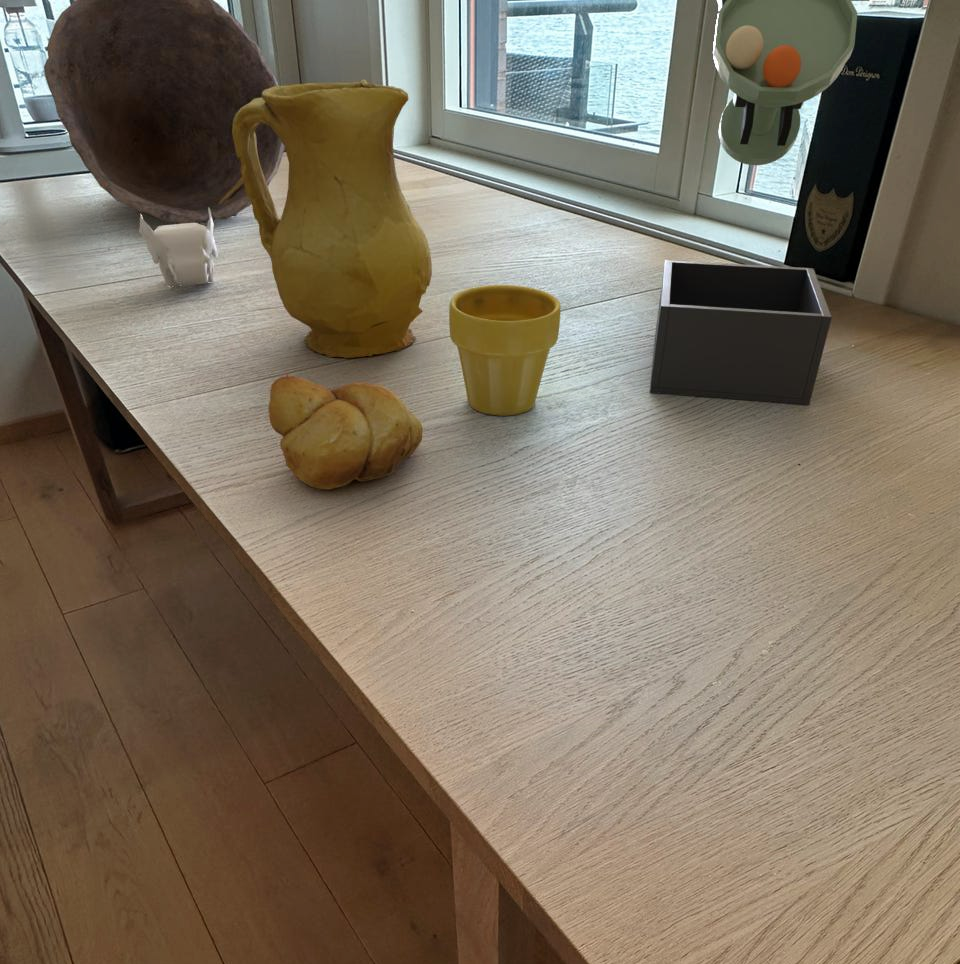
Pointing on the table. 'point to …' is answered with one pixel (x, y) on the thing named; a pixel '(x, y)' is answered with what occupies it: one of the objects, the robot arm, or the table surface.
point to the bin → (739, 332)
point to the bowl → (160, 102)
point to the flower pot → (503, 344)
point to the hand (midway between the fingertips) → (765, 135)
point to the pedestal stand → (782, 21)
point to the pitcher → (338, 215)
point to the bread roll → (341, 430)
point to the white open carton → (182, 251)
